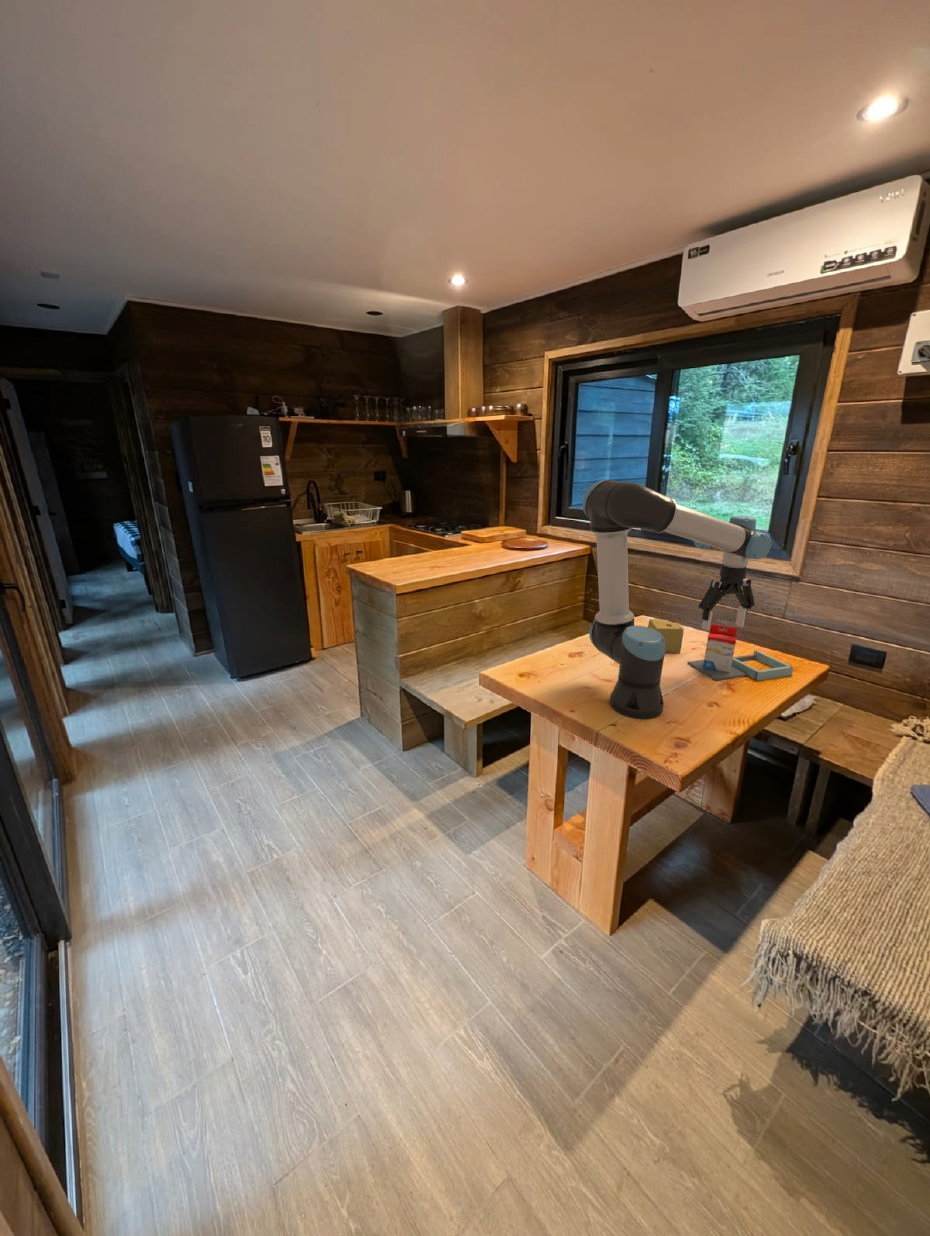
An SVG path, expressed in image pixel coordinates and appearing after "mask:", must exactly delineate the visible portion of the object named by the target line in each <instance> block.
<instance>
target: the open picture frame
mask: <svg viewBox="0 0 930 1236" xmlns="http://www.w3.org/2000/svg"><path fill="white" fill-rule="evenodd" d="M750 660H752V661H753V660H756V661H758V662H760V663H761V664H764V665H766V666H768V667H770V668H766V669H765V668H764V669H760V670H759V669H757V668H754V667H753V666H751V665H749V664H747V663H745V661H750ZM731 666H732V667H734V668H736V669H738V670H740V671H742V672H744V673H745V674H747V675H746V677H750V678H751V679H753V680H755V681H756V682H759V681H763V680H770V679H776V678H783V677H789V676H792V675H793V672H794V666H792V665H790V664H788V663H786V662H784V661H782V660H780V659H777V658H776V657H773V656H771V655H769V654H767V653H765V652H762V651H760V650H758V649H757V650H754V652H753V653H752V654H745V655H739V656H733V659H732V664H731Z"/></svg>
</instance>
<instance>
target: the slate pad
mask: <svg viewBox="0 0 930 1236" xmlns="http://www.w3.org/2000/svg"><path fill="white" fill-rule="evenodd" d="M703 663H704V659H699V660H693V661H691V660H690V661H687V664H688V665H689V666H691V667H692V668H694V669H695V670H697V671H699V672H701V673H702V674H703V675H705V676H708V677H709V678H711V679H713V680H714V681H716V682H718V681H725V680H730V679H737V678H743V677H747V674H745V673H744V672H742V671H740V670H738V669H736V668H734V667H732V666H731V669H730V672H724V671H718V670H713V669H708V668H703Z"/></svg>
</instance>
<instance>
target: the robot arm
mask: <svg viewBox="0 0 930 1236" xmlns="http://www.w3.org/2000/svg"><path fill="white" fill-rule="evenodd" d="M581 505H582V510H583V513H584V514H585V516H586V517H587V518H588V519H589V522H590V525H589V526H590V532H591V533H592V534H594V535H595V537H596V557H597V558H596V559H597V579H598V582H597V583H598V600H599V601H598V602H599V603H598V607H599V611H598V612H597V613H596V614H595V615H594V620H593V622H592V624H590V627H589V631H588V632H589V639H590V642H591V644H592V645H593V646H594V647H595V648H596V650H597V651H599V652H600V653H601V654H603V655H605V656H606V657H608V658H610V659H611V660H612V661H613V662H615V663H616V664H618V665H619V667H618V679H617V681H616V683H615V685H614V686H613V690H612V692H611V693H610V695H609V705H610V707H611V708H612V709H613V710H614V711H615V712H617V713H618V714H621V715H623V716H626V717H630V718H633V719H634V718H635V719H652V718H653V719H655V718H657V717H658V716H661V715H662V713H663V711H664V704H665V703H664V699H663V694H662V690H661V679H662V674H663V673H662V672H663V666H664V659H665V655H666V654H665V639H664V637H663V636H662V635H661V634H660V633H659V632H658V631H656V630H654V629H652V628H648V627H647V626H644V625H635V615H634V612H632V611H631V610H630V605H629V602H630V601H629V597H630V596H629V559H628V557H629V555H628V533H629V532H630V531H631V530H632V529H637V530H643V531H644V530H645V531H649V532H653V533H657V534H660V533H663V532H665V533H668V534H671V535H675V536H678V537H681V538H684V539H688V540H690V541H693V543H694V545H695V547H696V548H698V549H699V550H700V549H701V550H716V551H720V552H723V555H722V560H721V563H722V565H720V569H719V570H720V571H719V576H720V579H719V581H717V580H714V579H713V580H711V581H710V586H709V587H708V590H707V591H706V592H705V595H704V596H703V598H702V599H701V601H700V603H699V604H698V608H699V609H701V610H703V611H702V616H701V620H702V624H701V628H702V629H703V630H706V631H708V632H710V628H711V623H712V620H713V619H712V617H713V611H712V610H713V609H714V608H715V606H716V605H717V604H718V603H719V602H720V600H722V598H723V597H725V596H726V595H731V594H733V595H735V597H736V599H737V601H738V602H739V604H740V606H738V609H737V614H736V618H735V623H734V625H735V626H737V627H739V628H744V625H745V619H746V617H747V616H748V610H751V608H753V607H754V606H755V599H754V596H753V594H754V593H753V590H752V580H751V579H749V578H746V576H747V573H748V567H747V566H748V565H749V561H750V559H752V560H758V561H759V560H761V559H763V558H765V557H766V556H767V555H768V554H769V553H770V550H771V548H772V539H771V537H770V536H769V535H768V534H767V533H764V532H761V531H756V525H757V519H756V518H754V517H752V516H748V515H747V516H746V515H732V516H730V518H729V521H726V520H723V519H721V518H717V517H714V516H712V515H709V514H706V513H703V512H700V511H698V510H695V509H692V508H689V507H687V506H683V505H681V504H678V503H676V501H675V499H673V498H672V497H670V496H668V495H665V494H662V493H660V492H658V491H656V490H653V489H651V488H649V487H647V486H645V485H642V484H640V483H636V482H629V481H620V480H615V479H603V480H602V479H601V480H599V481H598V480H597V481H596V482H594V483H593V484H591V485H590V486H589V488H587V490H586V491H585V492H584V495H583V498H582V503H581Z"/></svg>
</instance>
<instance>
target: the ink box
mask: <svg viewBox="0 0 930 1236" xmlns="http://www.w3.org/2000/svg"><path fill="white" fill-rule="evenodd" d="M721 629H724V630H721ZM726 630H727V631H726ZM737 631H738V628H737V627H732V626H726V625H719V624H710V630H709V631H708V636H707V641H706V647H705V652H704V658H703V660H704V663H703V668H708V669H713V670H718V671H724V672H730V669H731V664H732V659H733V657H734V653H735V648H736V644H737V643H736V642H737Z"/></svg>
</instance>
